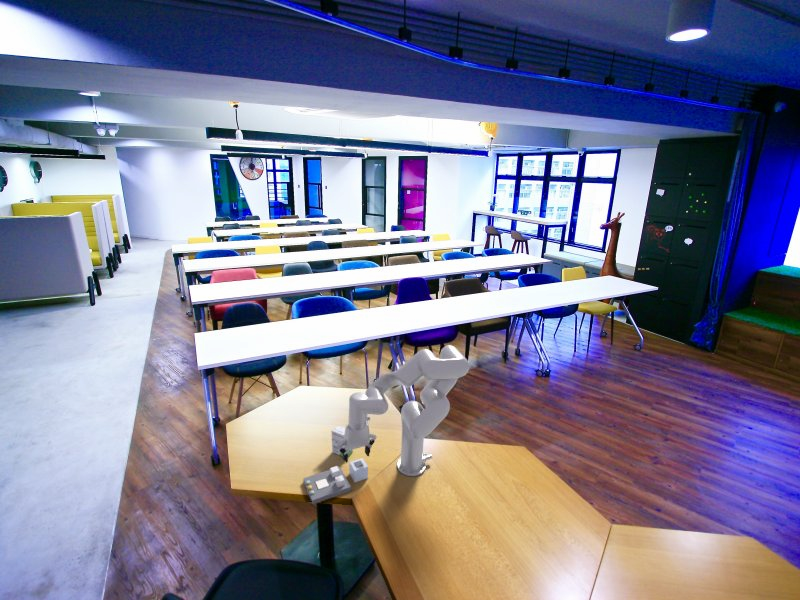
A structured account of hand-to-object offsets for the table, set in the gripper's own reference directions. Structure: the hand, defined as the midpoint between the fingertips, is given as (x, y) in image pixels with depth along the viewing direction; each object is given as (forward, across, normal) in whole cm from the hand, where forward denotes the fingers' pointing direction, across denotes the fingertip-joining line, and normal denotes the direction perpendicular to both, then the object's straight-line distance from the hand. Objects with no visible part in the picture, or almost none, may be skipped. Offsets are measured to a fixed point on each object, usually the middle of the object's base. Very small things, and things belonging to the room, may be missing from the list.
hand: (356, 457), depth 172 cm
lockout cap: (+10, -1, 0) cm, 10 cm away
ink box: (+10, 0, -17) cm, 19 cm away
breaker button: (+10, +15, 0) cm, 18 cm away
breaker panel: (+10, +13, 0) cm, 16 cm away
